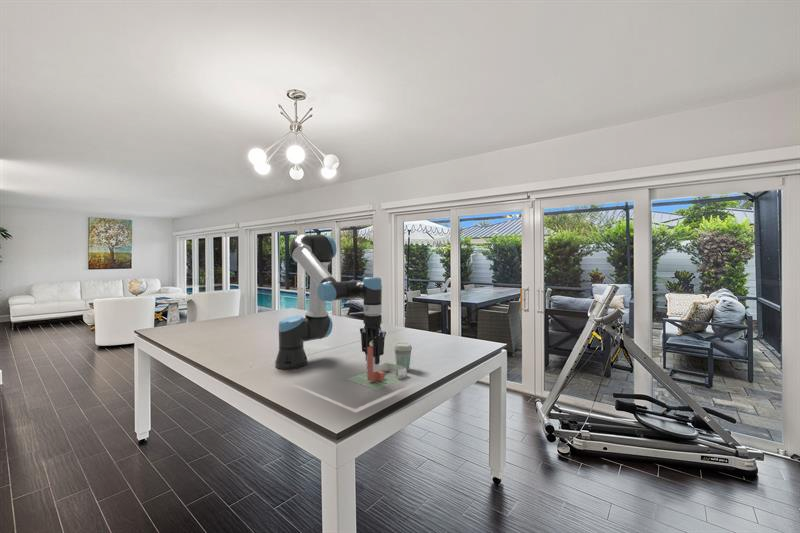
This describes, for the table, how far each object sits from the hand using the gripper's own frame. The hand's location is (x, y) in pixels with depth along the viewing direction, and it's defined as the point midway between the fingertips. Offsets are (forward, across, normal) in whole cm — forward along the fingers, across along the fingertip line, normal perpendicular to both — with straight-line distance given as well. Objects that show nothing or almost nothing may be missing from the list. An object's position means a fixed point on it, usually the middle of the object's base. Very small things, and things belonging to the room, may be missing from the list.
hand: (372, 370), depth 145 cm
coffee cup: (+6, -3, +23) cm, 24 cm away
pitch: (+6, -2, +2) cm, 7 cm away
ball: (+3, 0, +5) cm, 6 cm away
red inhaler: (+4, 0, 0) cm, 4 cm away
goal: (+6, 0, +12) cm, 14 cm away
